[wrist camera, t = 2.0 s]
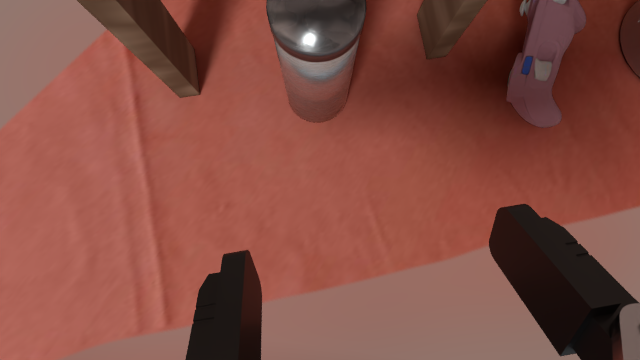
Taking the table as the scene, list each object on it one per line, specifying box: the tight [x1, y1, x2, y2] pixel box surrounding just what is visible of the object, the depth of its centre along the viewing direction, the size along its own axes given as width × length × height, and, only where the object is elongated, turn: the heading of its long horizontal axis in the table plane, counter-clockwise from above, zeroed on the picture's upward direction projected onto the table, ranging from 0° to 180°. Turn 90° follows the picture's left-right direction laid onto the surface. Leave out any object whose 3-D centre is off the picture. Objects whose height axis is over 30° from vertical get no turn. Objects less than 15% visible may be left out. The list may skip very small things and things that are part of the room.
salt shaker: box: [266, 0, 366, 123], centre depth 22 cm, size 5×5×11 cm
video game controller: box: [506, 0, 586, 128], centre depth 25 cm, size 10×5×7 cm, turn 161°
